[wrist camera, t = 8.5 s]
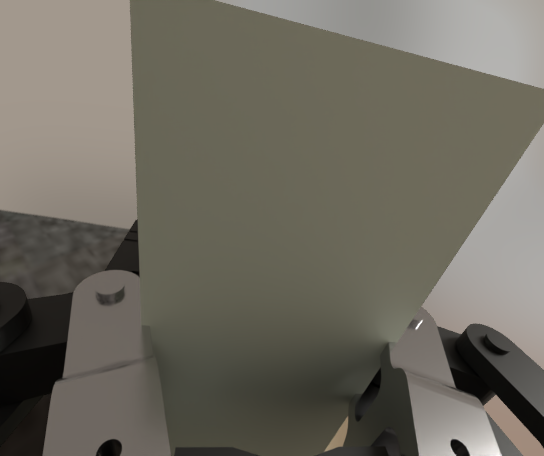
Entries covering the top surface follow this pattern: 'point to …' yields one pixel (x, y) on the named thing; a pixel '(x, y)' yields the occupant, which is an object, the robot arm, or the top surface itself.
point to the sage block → (297, 210)
